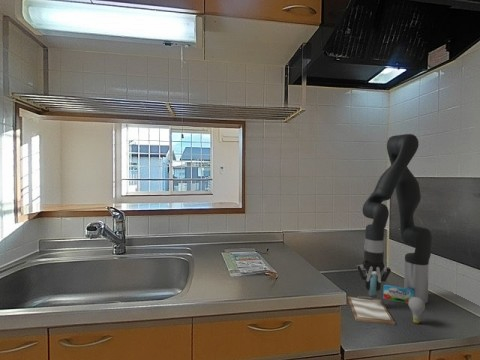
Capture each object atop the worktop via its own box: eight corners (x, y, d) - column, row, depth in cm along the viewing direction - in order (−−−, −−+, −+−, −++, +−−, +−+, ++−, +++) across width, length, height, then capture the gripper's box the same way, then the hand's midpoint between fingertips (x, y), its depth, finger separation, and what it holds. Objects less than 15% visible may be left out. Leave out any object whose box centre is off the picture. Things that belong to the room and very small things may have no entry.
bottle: (370, 293, 124) (371, 268, 124) (378, 296, 122) (379, 270, 121) (366, 295, 122) (367, 269, 122) (374, 298, 120) (375, 272, 119)
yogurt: (383, 298, 131) (383, 285, 131) (383, 297, 132) (383, 284, 132) (413, 305, 125) (414, 291, 125) (413, 303, 127) (414, 289, 126)
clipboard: (347, 298, 131) (347, 294, 131) (380, 301, 128) (380, 298, 128) (355, 320, 112) (355, 316, 112) (395, 325, 109) (395, 320, 109)
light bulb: (404, 320, 112) (405, 295, 111) (414, 318, 114) (415, 293, 113) (417, 328, 107) (418, 301, 106) (428, 325, 108) (428, 299, 108)
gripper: (357, 250, 119) (356, 291, 120) (394, 253, 116) (393, 295, 117) (354, 246, 127) (353, 284, 127) (389, 248, 124) (388, 288, 124)
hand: (372, 289), depth 122 cm, fingers closed on bottle, 3 cm apart
